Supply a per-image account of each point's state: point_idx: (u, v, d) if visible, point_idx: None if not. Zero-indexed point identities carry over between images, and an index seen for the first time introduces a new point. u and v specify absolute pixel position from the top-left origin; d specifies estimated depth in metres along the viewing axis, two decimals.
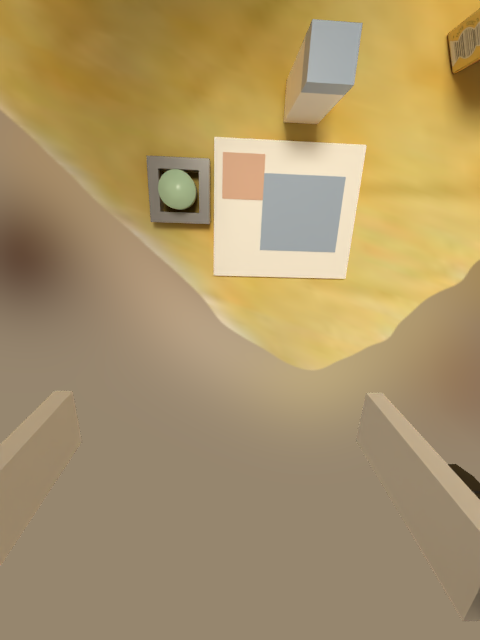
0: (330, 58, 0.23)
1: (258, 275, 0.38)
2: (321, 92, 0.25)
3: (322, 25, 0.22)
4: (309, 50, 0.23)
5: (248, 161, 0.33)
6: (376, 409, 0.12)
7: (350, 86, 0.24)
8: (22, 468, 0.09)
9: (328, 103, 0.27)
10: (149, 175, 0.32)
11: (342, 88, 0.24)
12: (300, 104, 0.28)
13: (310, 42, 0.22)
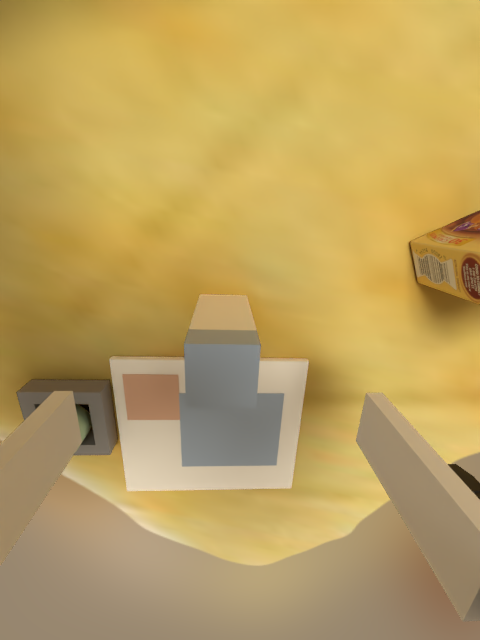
0: (216, 383, 0.15)
1: (183, 489, 0.31)
2: None
3: (200, 349, 0.15)
4: None
5: (157, 382, 0.26)
6: (376, 409, 0.12)
7: None
8: (22, 468, 0.09)
9: None
10: (24, 411, 0.25)
11: None
12: None
13: (185, 366, 0.15)
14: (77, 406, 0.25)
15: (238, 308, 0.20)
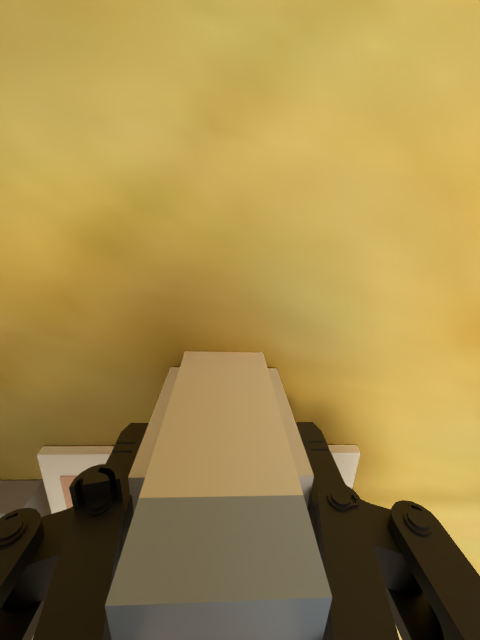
0: None
1: None
2: None
3: (155, 615, 0.05)
4: None
5: None
6: None
7: None
8: None
9: None
10: None
11: None
12: None
13: None
14: None
15: (251, 396, 0.11)
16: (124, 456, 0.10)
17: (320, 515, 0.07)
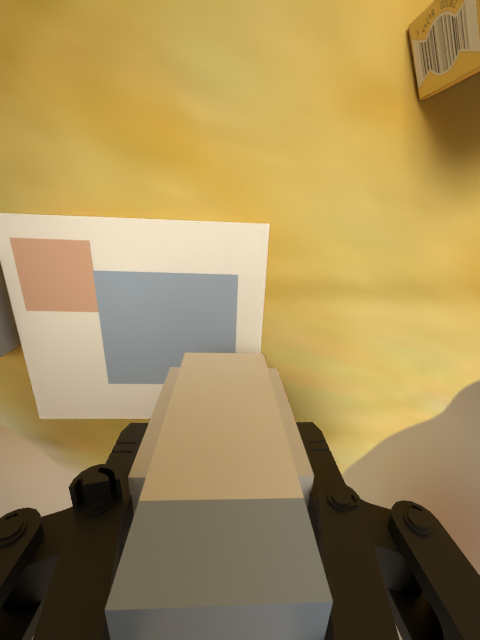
0: None
1: (114, 417, 0.24)
2: None
3: (155, 619, 0.05)
4: None
5: (61, 252, 0.19)
6: None
7: None
8: None
9: None
10: None
11: None
12: None
13: None
14: None
15: (252, 398, 0.11)
16: (124, 456, 0.10)
17: (320, 515, 0.07)
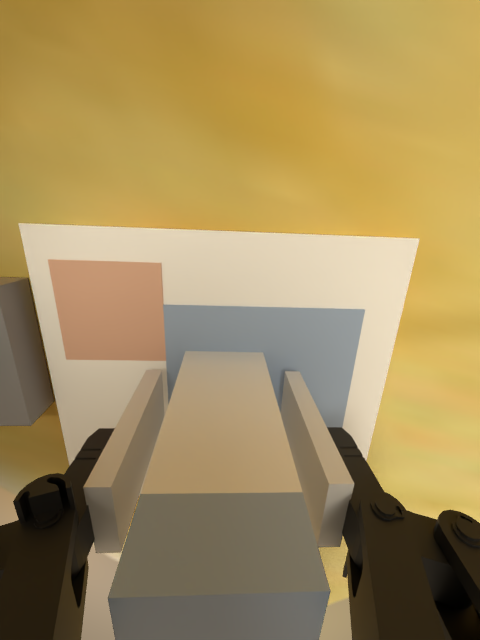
0: None
1: None
2: None
3: (156, 607, 0.05)
4: None
5: (120, 279, 0.13)
6: (288, 384, 0.13)
7: None
8: (144, 428, 0.11)
9: None
10: None
11: None
12: None
13: None
14: None
15: (252, 396, 0.11)
16: (87, 463, 0.09)
17: (363, 522, 0.07)
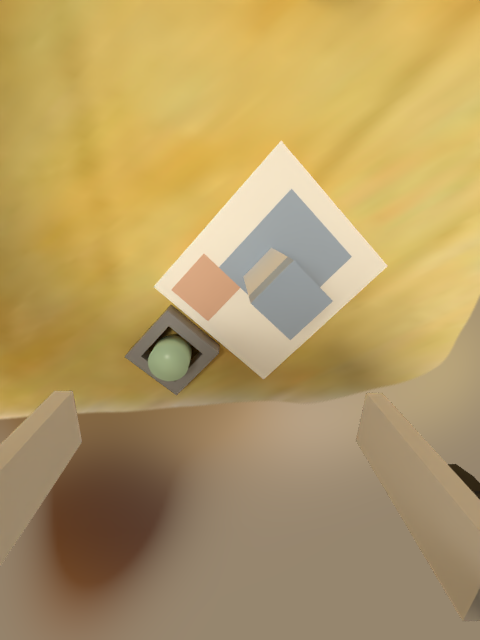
0: (292, 308, 0.19)
1: (300, 343, 0.31)
2: None
3: (262, 297, 0.19)
4: None
5: (197, 273, 0.28)
6: (376, 409, 0.12)
7: None
8: (22, 468, 0.09)
9: None
10: (141, 367, 0.30)
11: None
12: None
13: (264, 315, 0.19)
14: (166, 336, 0.29)
15: (270, 259, 0.24)
16: None
17: None
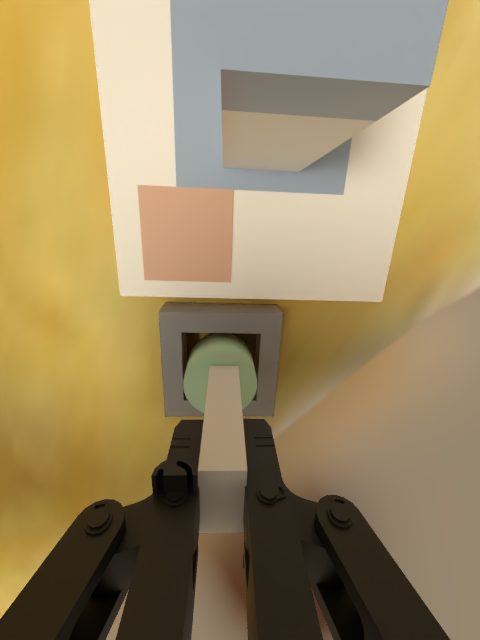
0: None
1: (401, 197, 0.16)
2: None
3: (240, 11, 0.05)
4: (318, 79, 0.05)
5: (156, 224, 0.15)
6: (223, 378, 0.14)
7: None
8: None
9: None
10: (196, 413, 0.18)
11: None
12: None
13: (293, 76, 0.05)
14: (193, 348, 0.17)
15: None
16: (183, 451, 0.10)
17: (249, 513, 0.07)
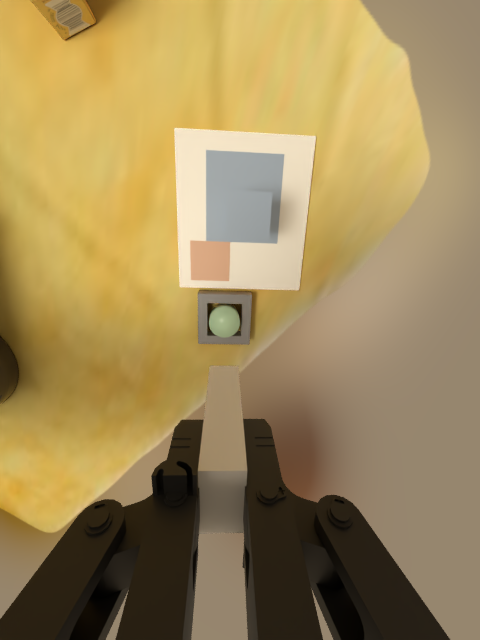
0: (252, 218, 0.25)
1: (303, 244, 0.36)
2: None
3: (229, 228, 0.25)
4: (245, 238, 0.26)
5: (197, 256, 0.36)
6: (223, 378, 0.14)
7: (271, 194, 0.25)
8: None
9: None
10: (213, 342, 0.38)
11: None
12: None
13: None
14: (212, 309, 0.38)
15: None
16: (183, 451, 0.10)
17: (249, 513, 0.07)
